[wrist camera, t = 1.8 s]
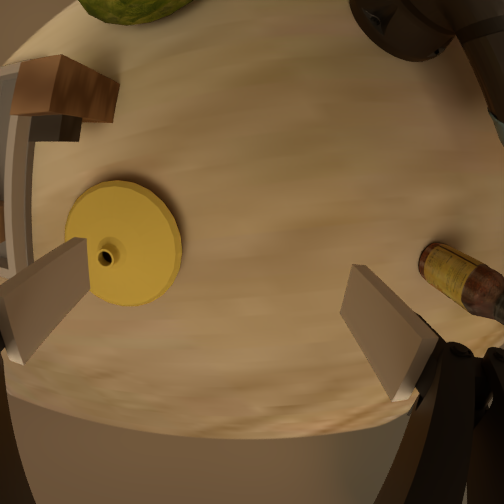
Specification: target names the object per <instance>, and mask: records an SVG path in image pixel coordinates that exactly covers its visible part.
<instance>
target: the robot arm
mask: <svg viewBox="0 0 504 504" xmlns="http://www.w3.org/2000/svg"><path fill="white" fill-rule="evenodd" d="M350 7H351V10H352V13H353V15H354V17H355V19H356V21H357V23H358V24H359V26H360V27H361V29H362V30H363V31H364V32H365V34H366V35H367V36H368V37H369V38H370V39H371V40H372V41H373V42H374V43H375V44H377V45H378V46H379V47H381V48H382V49H383V50H385V51H386V52H388V53H390V54H391V55H393V56H395V57H398V58H400V59H403V60H406V61H411V62H423V61H426V60H429V59H432V58H434V57H436V56H438V55H440V54H441V53H442V52H443V51H444V50H445V48H446V47H447V46H448V45H449V43H450V42H451V41H452V40H453V38H454V37H455V36H457V38H458V39H459V41H460V43H461V46H462V48H463V50H464V52H465V54H466V56H467V58H468V60H469V62H470V64H471V66H472V68H473V70H474V73H475V75H476V77H477V80H478V82H479V84H480V87H481V89H482V92H483V95H484V97H485V100H486V103H487V106H488V112H489V115H490V116H491V118H492V120H493V122H494V125H495V128H496V130H497V133H498V136H499V139H500V141H501V143H502V145H503V146H504V0H350ZM89 290H90V279H89V268H88V254H87V238H79V237H73V238H72V239H70V240H68V241H67V242H65V243H63V244H62V245H60V246H59V247H57V248H55V249H54V250H52V251H51V252H49V253H47V254H46V255H44V256H43V257H41V258H40V259H38V260H37V261H35V262H34V263H32V264H31V265H29V266H28V267H26V268H25V269H23V270H22V271H20V272H19V273H17V274H16V275H14V276H13V277H12V278H10V279H9V280H7V281H6V282H4V283H3V284H2V285H0V352H1V351H2V350H3V349H4V348H6V351H7V354H8V356H9V359H10V360H11V361H13V362H16V363H19V364H21V365H25V364H26V362H27V361H28V360H29V358H30V357H31V356H32V355H33V354H34V352H35V351H36V350H37V349H38V347H39V346H40V345H41V344H42V343H43V341H44V340H45V339H46V338H47V337H48V336H49V334H50V333H51V332H52V331H53V330H54V329H55V327H56V326H57V325H58V324H59V323H60V322H61V321H62V319H63V318H64V317H65V316H66V315H67V314H68V313H69V312H70V311H71V309H72V308H73V307H74V306H75V305H76V304H77V303H78V302H79V301H80V300H81V299H82V297H83V296H84V295H85V294H86V293H87V292H88V291H89ZM340 314H341V316H342V318H343V319H344V321H345V323H346V324H347V326H348V328H349V329H350V331H351V333H352V334H353V336H354V338H355V339H356V341H357V343H358V344H359V346H360V348H361V349H362V351H363V353H364V354H365V356H366V358H367V360H368V361H369V363H370V365H371V366H372V368H373V370H374V372H375V373H376V375H377V377H378V379H379V380H380V382H381V384H382V386H383V387H384V389H385V391H386V393H387V394H388V396H389V398H390V400H391V402H394V401H400V400H406V399H409V397H410V395H411V393H412V392H413V390H414V388H415V387H416V389H417V390H418V392H419V393H420V394H419V395H418V397H417V399H416V400H415V402H414V404H413V406H412V407H411V409H410V410H409V412H408V414H407V415H408V416H409V415H410V414H411V416H410V419H409V422H408V425H407V428H406V430H405V433H404V436H403V439H402V441H401V444H400V446H399V449H398V451H397V454H396V457H395V459H394V461H393V464H392V466H391V468H390V470H389V473H388V475H387V477H386V479H385V482H384V484H383V486H382V488H381V490H380V492H379V494H378V496H377V498H376V500H375V502H374V504H462V501H463V496H464V492H465V487H466V482H467V504H504V350H502V349H501V348H496V347H490V348H488V350H487V352H486V354H485V356H484V358H478V357H474V355H473V353H472V351H471V350H470V349H469V348H467V347H466V346H464V345H462V344H460V343H457V342H447V343H446V342H445V341H444V339H443V338H442V337H441V336H440V335H439V334H438V333H437V332H436V331H435V330H434V329H433V328H431V326H430V325H429V324H428V323H426V321H425V320H424V319H423V318H422V317H421V316H420V315H418V314H417V313H415V312H414V311H412V310H411V309H410V308H409V307H408V306H407V305H406V304H405V303H404V302H403V301H402V300H401V299H400V298H399V297H398V296H397V295H396V294H395V293H394V292H393V291H392V290H391V289H390V288H389V287H388V286H387V285H386V284H385V283H384V282H383V281H382V280H381V279H380V278H379V277H378V276H376V275H375V274H374V273H373V272H372V271H371V270H370V269H369V268H368V267H367V266H366V265H356V264H352V267H351V271H350V275H349V280H348V284H347V288H346V291H345V295H344V299H343V303H342V307H341V310H340ZM492 397H493V401H492V404H491V406H490V408H489V407H488V403H489V402H490V400H491V399H492ZM0 504H36V503H35V500H34V498H33V495H32V492H31V490H30V487H29V484H28V481H27V479H26V476H25V472H24V469H23V466H22V462H21V459H20V455H19V452H18V448H17V444H16V440H15V436H14V431H13V426H12V422H11V417H10V411H9V405H8V400H7V392H6V384H5V375H4V365H3V359H2V356H1V353H0Z"/></svg>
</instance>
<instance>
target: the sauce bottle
mask: <svg viewBox="0 0 504 504" xmlns="http://www.w3.org/2000/svg"><path fill="white" fill-rule="evenodd" d="M419 271H420V274H421V275H422V276H423V278H424V279H425V280H426V281H427V282H428V283H429V284H431V285H432V286H434V287H435V288H436V289H438V290H439V291H441V292H442V293H443V294H445V295H446V296H447V297H449V298H450V299H452V300H453V301H454V302H456V303H457V304H459V305H460V306H461V307H462V308H464V309H465V310H466V311H468V312H469V313H471V314H472V315H476V316H481V317H485V318H490V319H494V320H496V321H498V322H500V323H501V324H503V325H504V277H503V276H502V274H500V273H498V272H497V271H495V270H493V269H491V268H489V267H488V266H487V265H486V264H484V263H482V262H480V261H478V260H476V259H474V258H472V257H470V256H468V255H466V254H464V253H462V252H460V251H458V250H456V249H454V248H452V247H450V246H448V245H446V244H441V243H433V244H431V245H429V246H428V247H427V248H426V249H425V250H424V251H423V253H422V255H421V258H420V261H419Z"/></svg>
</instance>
